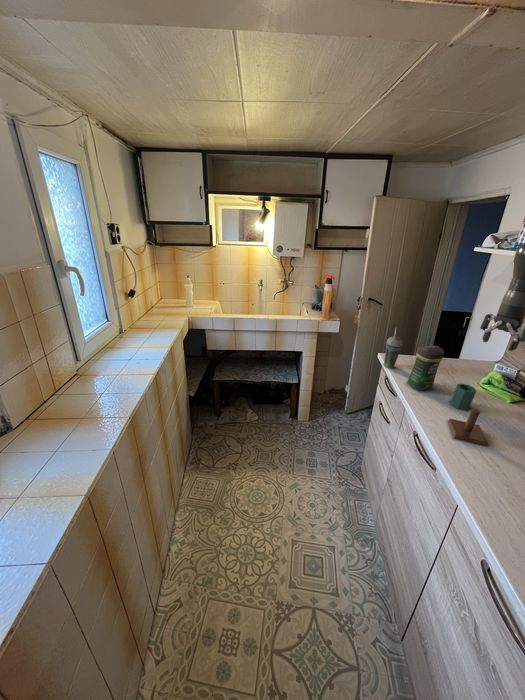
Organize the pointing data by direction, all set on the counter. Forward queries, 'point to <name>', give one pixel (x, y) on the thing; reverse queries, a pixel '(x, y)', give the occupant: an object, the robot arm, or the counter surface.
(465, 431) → the peg stand
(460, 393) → the green octagonal tube
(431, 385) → the coffee jar
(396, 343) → the beverage cup
